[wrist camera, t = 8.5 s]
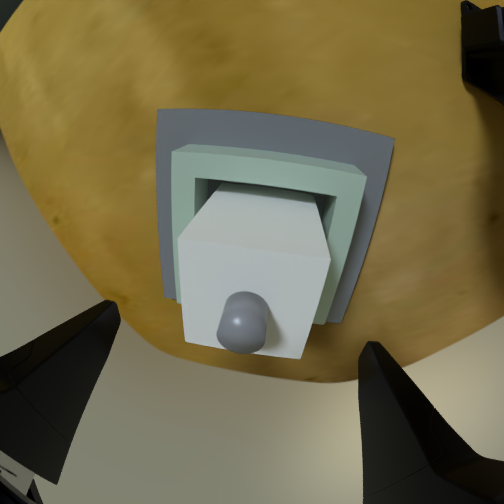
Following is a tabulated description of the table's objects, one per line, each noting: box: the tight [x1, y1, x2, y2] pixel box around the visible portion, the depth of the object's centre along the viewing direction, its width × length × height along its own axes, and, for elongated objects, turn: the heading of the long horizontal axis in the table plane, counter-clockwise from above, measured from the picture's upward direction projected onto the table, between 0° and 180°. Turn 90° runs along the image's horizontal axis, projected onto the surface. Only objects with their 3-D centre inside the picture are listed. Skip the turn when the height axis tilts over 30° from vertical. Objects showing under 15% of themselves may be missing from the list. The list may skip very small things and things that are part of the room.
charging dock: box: [156, 109, 394, 325], centre depth 15 cm, size 13×13×3 cm
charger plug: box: [178, 182, 331, 359], centre depth 12 cm, size 5×5×8 cm
